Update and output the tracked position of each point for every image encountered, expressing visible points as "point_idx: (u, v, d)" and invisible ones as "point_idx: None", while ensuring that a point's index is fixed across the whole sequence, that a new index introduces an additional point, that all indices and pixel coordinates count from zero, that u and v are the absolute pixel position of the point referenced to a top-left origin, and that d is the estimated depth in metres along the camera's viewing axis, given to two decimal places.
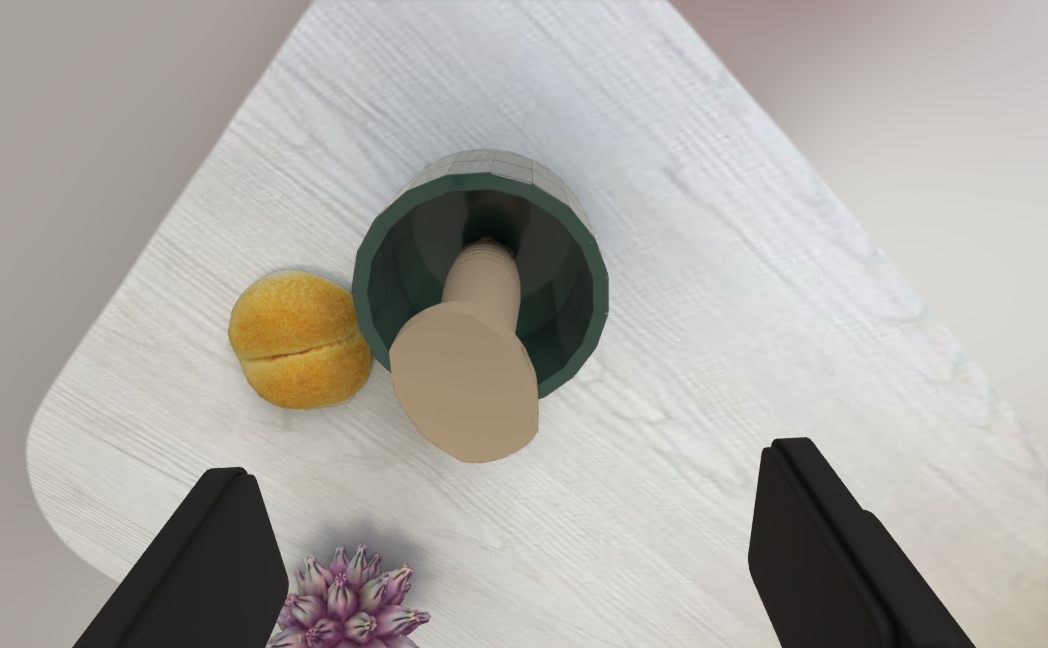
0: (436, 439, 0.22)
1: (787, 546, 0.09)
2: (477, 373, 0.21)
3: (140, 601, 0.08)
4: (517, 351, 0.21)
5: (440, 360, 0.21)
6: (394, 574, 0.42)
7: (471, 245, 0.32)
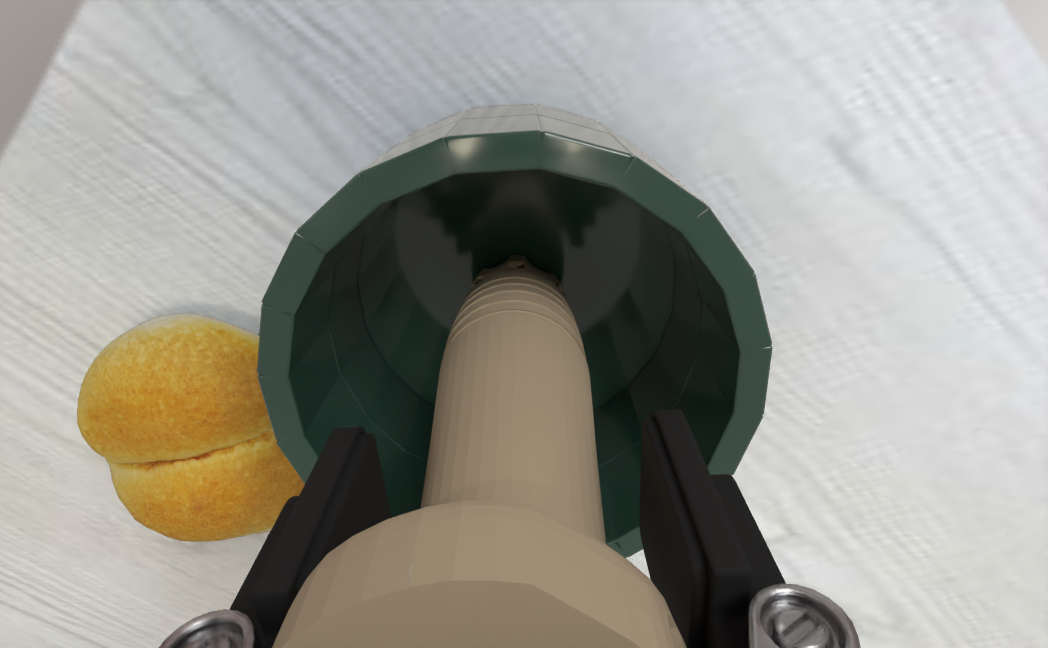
0: None
1: (654, 506, 0.10)
2: None
3: (309, 535, 0.09)
4: None
5: None
6: None
7: (491, 277, 0.18)
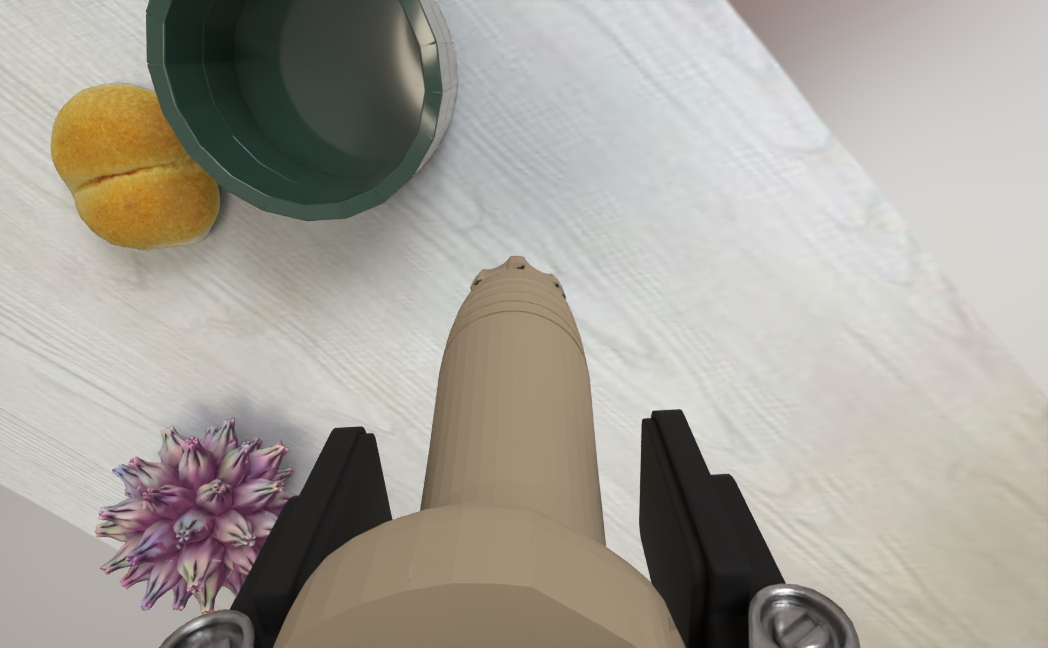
0: None
1: (654, 506, 0.10)
2: None
3: (309, 535, 0.09)
4: None
5: None
6: (266, 451, 0.39)
7: (491, 278, 0.18)
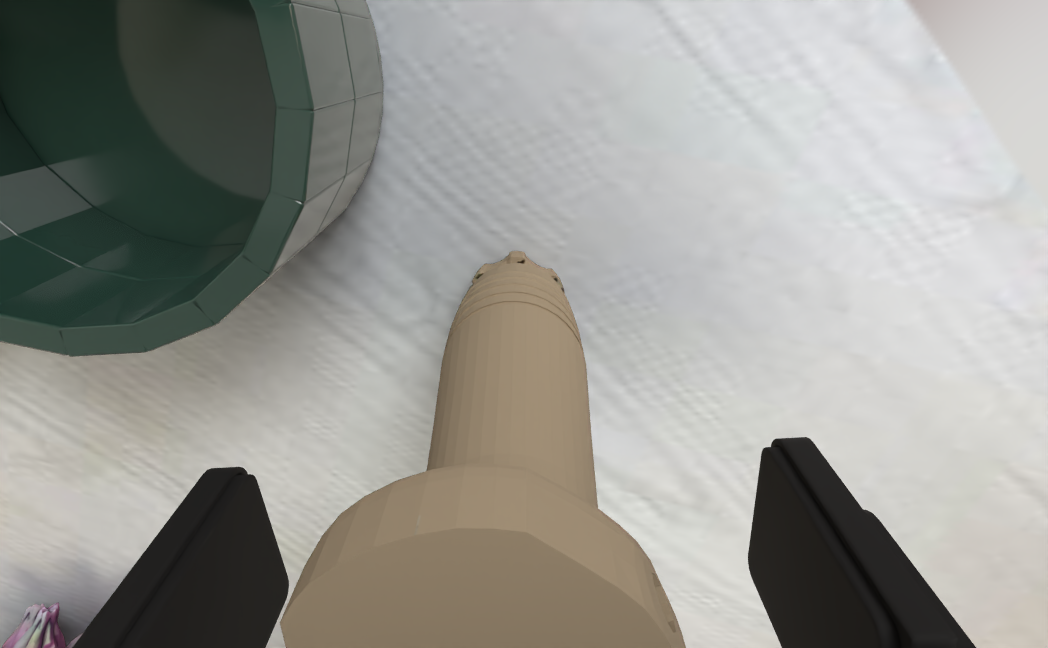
0: None
1: (787, 546, 0.09)
2: None
3: (140, 601, 0.08)
4: (657, 620, 0.07)
5: (431, 642, 0.07)
6: None
7: (492, 271, 0.18)
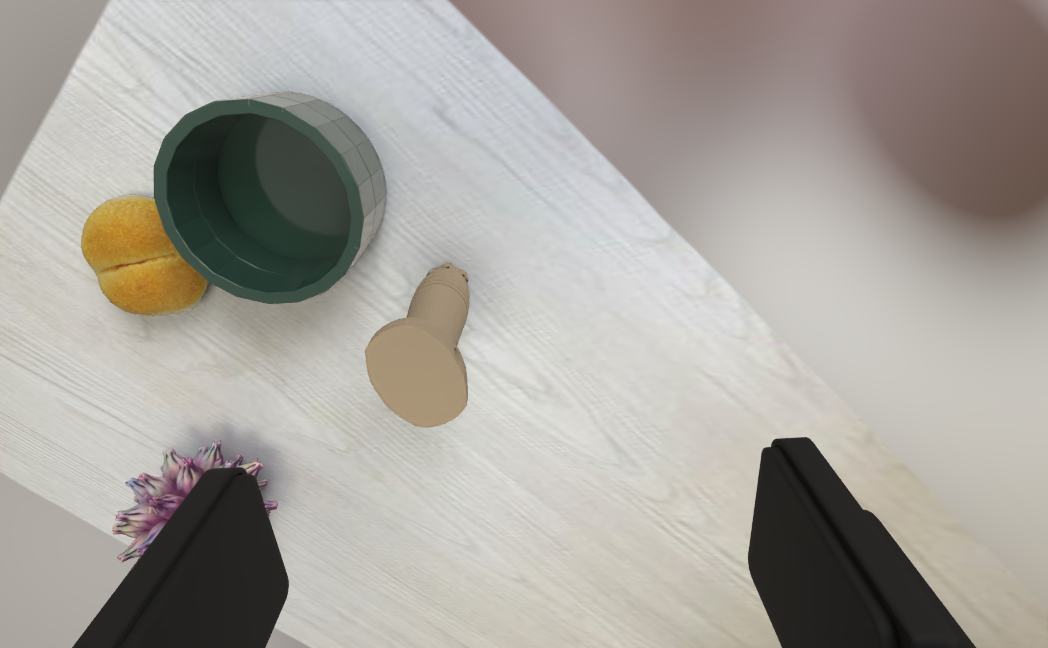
0: (397, 410, 0.33)
1: (787, 546, 0.09)
2: (423, 366, 0.32)
3: (140, 601, 0.08)
4: (450, 351, 0.31)
5: (399, 356, 0.31)
6: (245, 466, 0.49)
7: (433, 271, 0.42)
